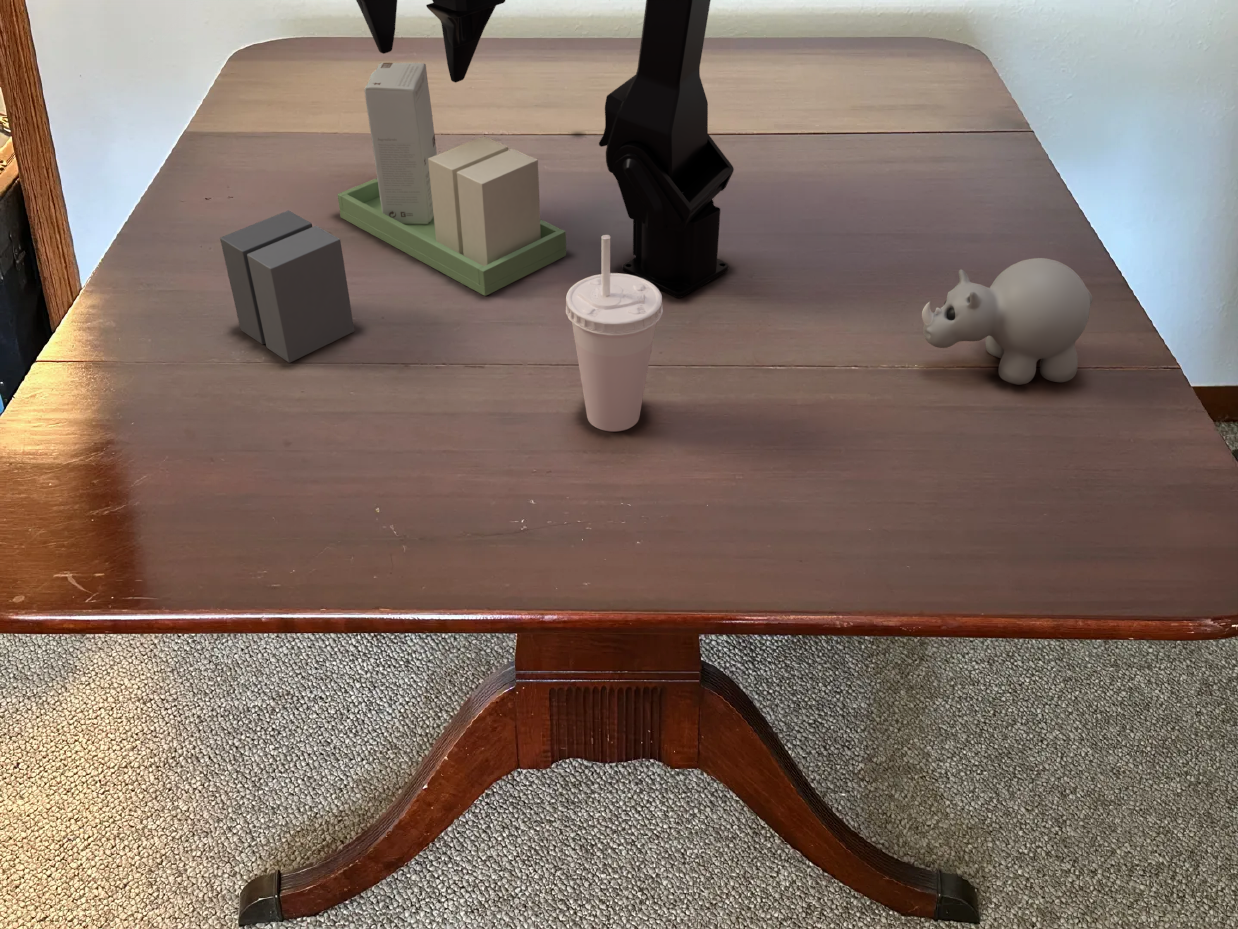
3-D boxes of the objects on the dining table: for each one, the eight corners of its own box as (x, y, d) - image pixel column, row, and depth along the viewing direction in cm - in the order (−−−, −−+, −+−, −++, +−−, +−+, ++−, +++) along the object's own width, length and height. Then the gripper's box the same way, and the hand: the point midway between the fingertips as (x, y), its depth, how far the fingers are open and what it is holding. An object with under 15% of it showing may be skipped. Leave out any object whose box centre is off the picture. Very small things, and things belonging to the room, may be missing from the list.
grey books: (354, 331, 93) (340, 238, 88) (289, 363, 90) (270, 268, 85) (305, 300, 97) (288, 209, 91) (240, 330, 93) (219, 237, 88)
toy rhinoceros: (900, 339, 93) (918, 241, 87) (1054, 337, 93) (1082, 239, 88) (921, 395, 87) (942, 293, 82) (1086, 392, 88) (1117, 290, 82)
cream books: (541, 248, 102) (538, 159, 97) (488, 274, 98) (481, 183, 93) (489, 222, 105) (483, 135, 100) (436, 246, 102) (427, 158, 97)
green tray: (566, 255, 102) (565, 231, 101) (485, 296, 97) (483, 271, 96) (421, 183, 113) (418, 160, 111) (340, 217, 107) (336, 193, 106)
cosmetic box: (431, 225, 105) (417, 89, 97) (380, 224, 105) (362, 88, 97) (443, 193, 109) (430, 61, 102) (393, 191, 110) (377, 59, 102)
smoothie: (574, 385, 88) (571, 210, 79) (662, 392, 87) (669, 216, 78) (561, 439, 83) (556, 259, 74) (654, 447, 82) (661, 266, 73)
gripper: (238, -141, 91) (274, 63, 101) (396, -93, 82) (419, 127, 91) (356, -165, 98) (379, 29, 108) (516, -124, 88) (525, 85, 98)
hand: (421, 66), depth 101 cm, fingers open, 9 cm apart
